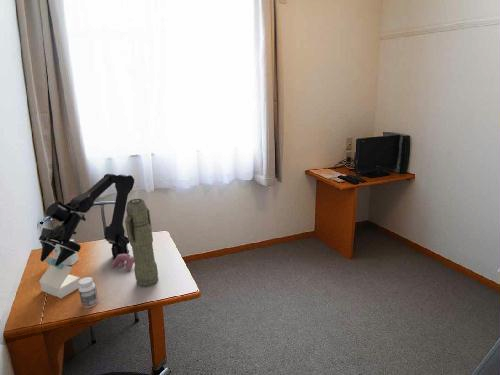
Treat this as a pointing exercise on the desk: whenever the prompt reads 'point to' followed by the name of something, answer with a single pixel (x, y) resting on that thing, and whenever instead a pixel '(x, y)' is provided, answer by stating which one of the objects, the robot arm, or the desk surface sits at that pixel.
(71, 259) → the small box
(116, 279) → the desk surface
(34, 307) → the desk surface
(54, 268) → the flap
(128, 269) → the video game controller
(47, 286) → the carton
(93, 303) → the pill bottle
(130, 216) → the olive tall rounded piece
